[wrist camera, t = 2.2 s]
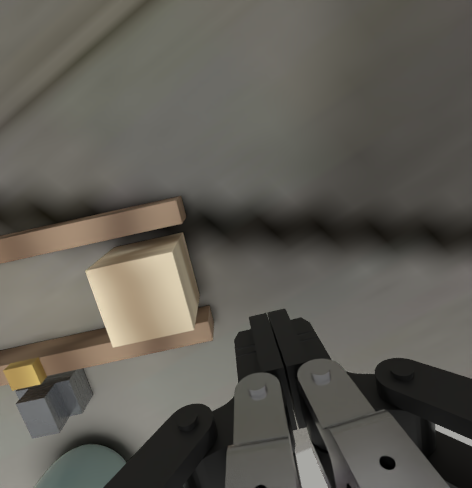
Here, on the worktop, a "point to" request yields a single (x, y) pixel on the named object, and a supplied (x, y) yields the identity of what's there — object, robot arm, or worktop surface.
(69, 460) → the cup
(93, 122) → the worktop surface
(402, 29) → the worktop surface
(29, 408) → the block
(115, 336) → the block
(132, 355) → the beam rails
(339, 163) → the worktop surface
